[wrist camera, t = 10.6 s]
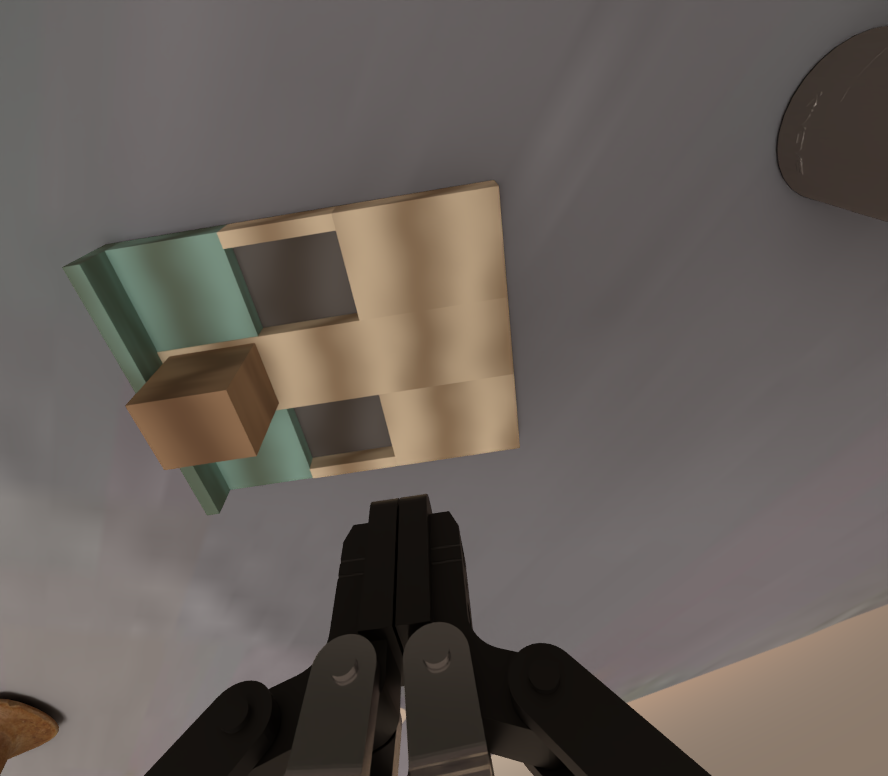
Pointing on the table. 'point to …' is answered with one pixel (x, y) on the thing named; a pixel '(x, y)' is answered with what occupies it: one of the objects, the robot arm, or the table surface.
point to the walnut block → (206, 407)
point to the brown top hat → (22, 729)
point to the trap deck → (330, 328)
